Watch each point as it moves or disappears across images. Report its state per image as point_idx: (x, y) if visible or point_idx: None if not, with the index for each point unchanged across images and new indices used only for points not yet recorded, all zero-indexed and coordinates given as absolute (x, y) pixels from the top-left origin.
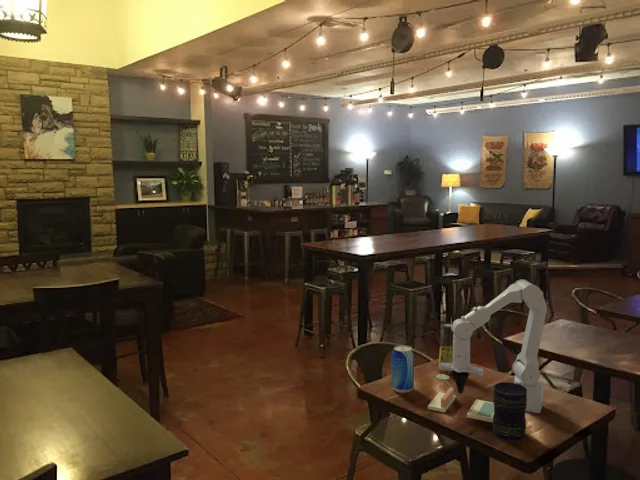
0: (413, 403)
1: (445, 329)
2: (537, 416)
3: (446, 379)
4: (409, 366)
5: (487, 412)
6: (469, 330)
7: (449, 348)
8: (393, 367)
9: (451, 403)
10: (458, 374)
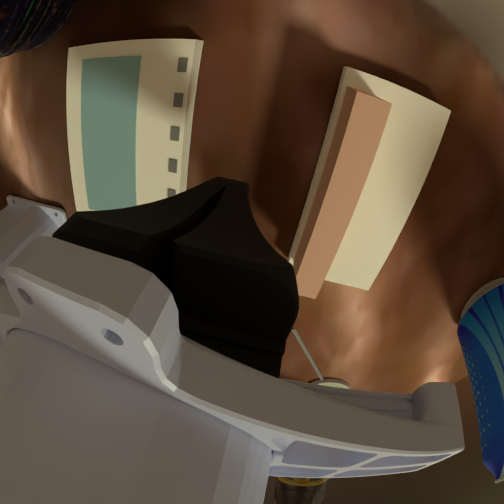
0: (496, 177)
1: None
2: (7, 175)
3: (317, 382)
4: None
5: (100, 103)
6: None
7: (297, 479)
8: None
9: (307, 196)
10: (182, 299)
